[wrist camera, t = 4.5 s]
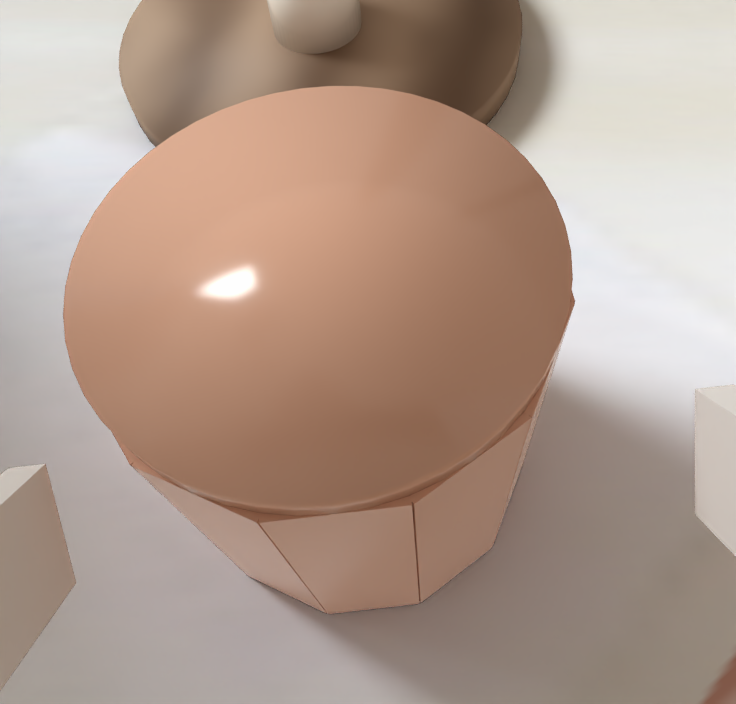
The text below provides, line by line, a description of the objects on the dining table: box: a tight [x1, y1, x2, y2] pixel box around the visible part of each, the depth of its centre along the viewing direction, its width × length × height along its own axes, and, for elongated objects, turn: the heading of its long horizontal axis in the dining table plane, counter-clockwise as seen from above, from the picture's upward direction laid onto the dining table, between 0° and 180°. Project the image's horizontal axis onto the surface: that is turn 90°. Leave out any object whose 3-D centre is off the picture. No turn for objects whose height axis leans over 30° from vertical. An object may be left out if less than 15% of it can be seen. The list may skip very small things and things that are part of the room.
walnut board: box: [119, 0, 522, 147], centre depth 35 cm, size 20×20×2 cm
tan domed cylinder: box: [63, 86, 575, 614], centre depth 20 cm, size 11×11×11 cm
